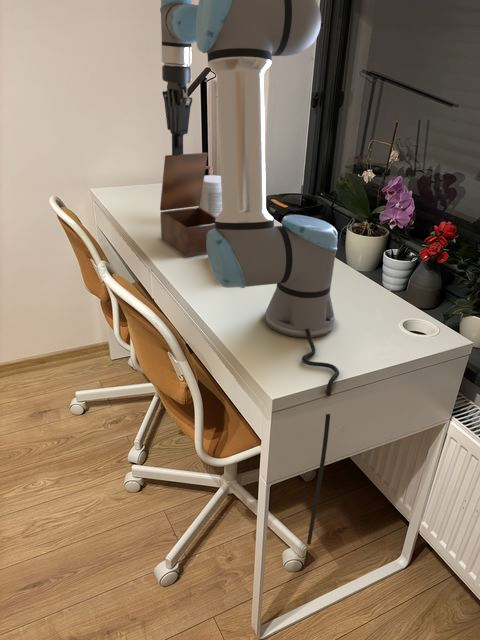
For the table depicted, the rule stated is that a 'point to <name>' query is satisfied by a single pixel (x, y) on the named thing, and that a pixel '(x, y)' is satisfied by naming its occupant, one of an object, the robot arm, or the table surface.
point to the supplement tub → (211, 195)
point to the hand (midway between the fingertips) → (177, 159)
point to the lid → (183, 180)
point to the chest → (187, 230)
